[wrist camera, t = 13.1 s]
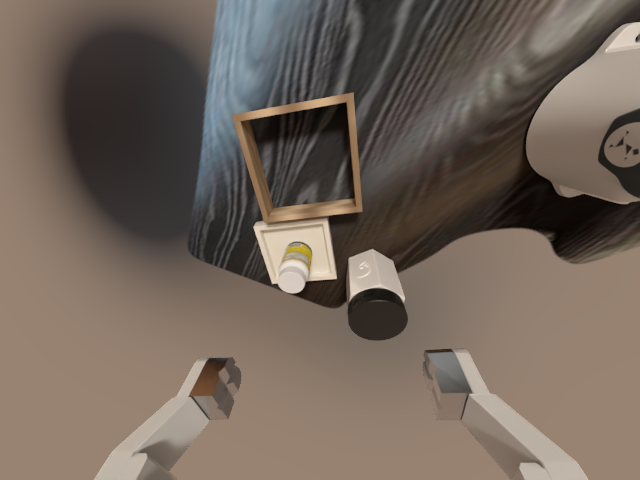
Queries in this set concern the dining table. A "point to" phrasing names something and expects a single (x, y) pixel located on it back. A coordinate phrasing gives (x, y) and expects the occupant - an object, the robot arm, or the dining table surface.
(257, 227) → the tray
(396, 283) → the jar
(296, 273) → the supplement bottle
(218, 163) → the dining table surface
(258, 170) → the frame
